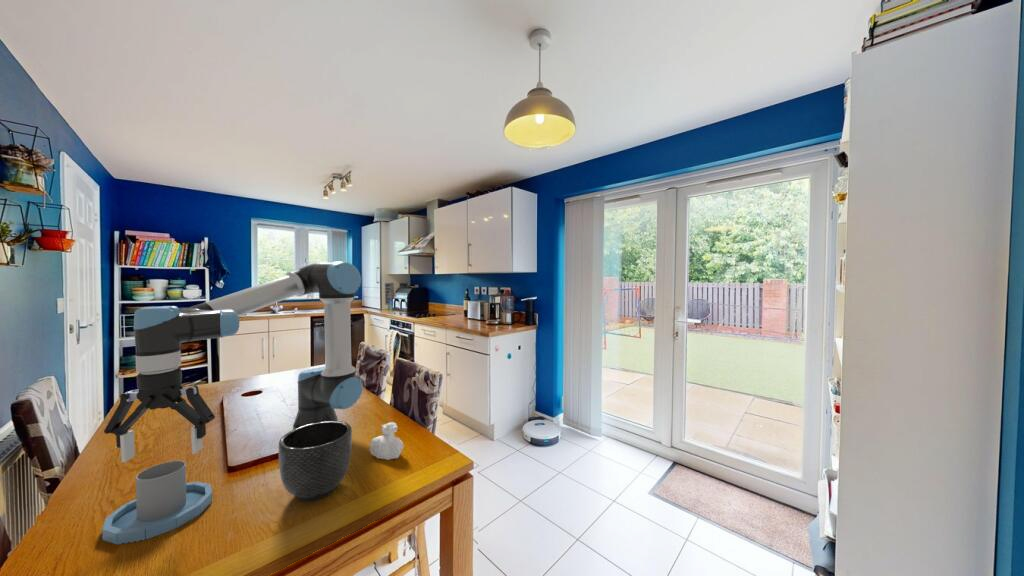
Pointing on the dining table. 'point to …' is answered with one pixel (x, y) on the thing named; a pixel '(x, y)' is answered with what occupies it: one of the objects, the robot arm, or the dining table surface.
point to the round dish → (129, 529)
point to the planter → (315, 458)
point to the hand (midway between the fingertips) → (163, 455)
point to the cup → (160, 491)
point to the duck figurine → (387, 443)
